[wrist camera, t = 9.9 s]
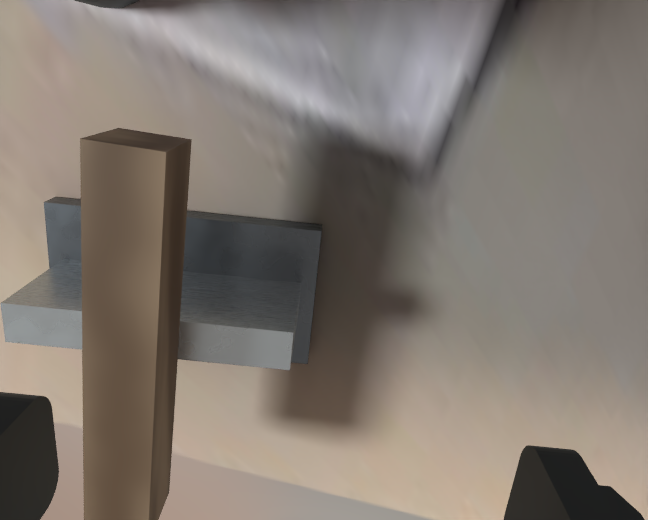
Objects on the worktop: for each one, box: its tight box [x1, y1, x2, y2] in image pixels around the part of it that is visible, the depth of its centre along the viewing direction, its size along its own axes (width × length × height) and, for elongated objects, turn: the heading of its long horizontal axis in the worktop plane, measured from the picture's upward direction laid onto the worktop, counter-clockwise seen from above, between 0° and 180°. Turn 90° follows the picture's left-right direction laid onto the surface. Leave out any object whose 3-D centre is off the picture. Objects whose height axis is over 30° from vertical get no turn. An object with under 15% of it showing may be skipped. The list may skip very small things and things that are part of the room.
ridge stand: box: [1, 197, 322, 370], centre depth 33 cm, size 18×10×8 cm, turn 84°
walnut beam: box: [80, 128, 191, 520], centre depth 27 cm, size 4×22×4 cm, turn 171°
